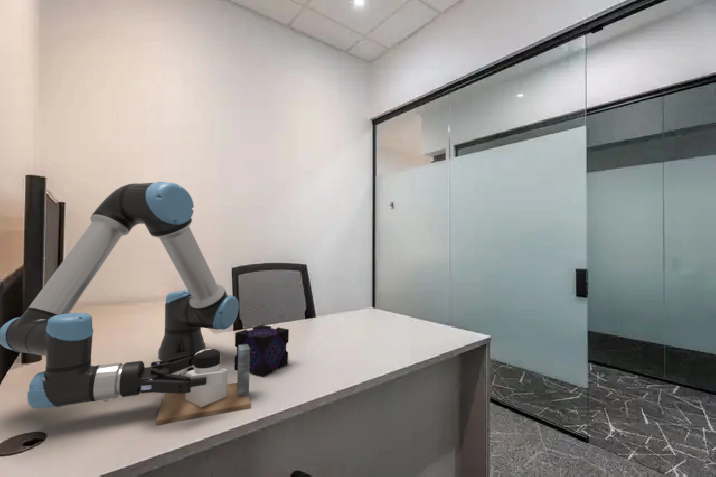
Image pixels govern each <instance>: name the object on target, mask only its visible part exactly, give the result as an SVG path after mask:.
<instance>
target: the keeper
mask: <svg viewBox="0 0 716 477" xmlns="http://www.w3.org/2000/svg"><path fill="white" fill-rule="evenodd" d="M249 367H250V348H249V345H248V344H244V345H238V371H237V381H236V382H234V383H227V396H226V397H225V398H223V399H220V400H218V401H216V402H213V403H211V404H209V405H207V406H204V407H202V408H201V407H199V406H197V405H195V404H193V403H191V402H189V401H187V400H185V394H175V393H163V398H162V401H161V405H160V407H159V411H158V414H157V418H156V420H155V422H156V423H155V425H156V426H159V425H165V424H168V423H169V424H171V423H174V422H175V423H176V422H180V421H181V422H182V421H187V420H191V419H192V420H193V419H197V418H202V417H208V416H214V415H218V414H219V415H220V414H224V413H230V412H235V411H241V410H247V409H250V408H251V407H252V406H251V405H252V404H251V403H252V402H251V400H250V372H249Z"/></svg>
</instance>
